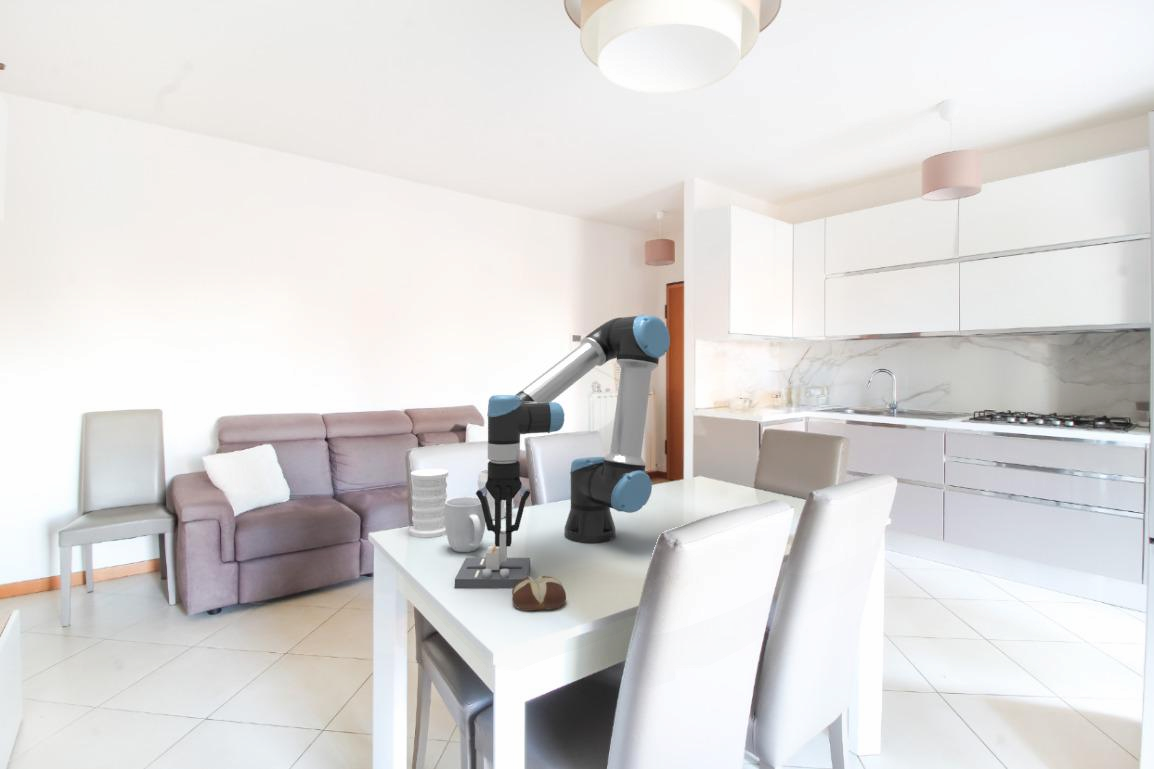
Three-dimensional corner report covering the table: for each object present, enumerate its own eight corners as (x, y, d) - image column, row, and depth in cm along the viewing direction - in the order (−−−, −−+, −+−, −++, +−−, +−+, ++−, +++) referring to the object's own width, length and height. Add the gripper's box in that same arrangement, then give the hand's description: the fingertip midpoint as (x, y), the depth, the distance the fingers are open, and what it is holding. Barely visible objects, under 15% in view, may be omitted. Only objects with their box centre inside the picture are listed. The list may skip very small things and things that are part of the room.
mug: (498, 554, 146) (498, 505, 145) (458, 562, 140) (458, 511, 139) (476, 539, 158) (476, 494, 158) (438, 546, 152) (438, 499, 152)
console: (530, 565, 138) (530, 551, 138) (526, 588, 124) (526, 572, 124) (466, 565, 138) (466, 551, 138) (454, 587, 124) (454, 572, 124)
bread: (566, 612, 113) (567, 588, 112) (510, 613, 112) (510, 589, 111) (564, 590, 124) (564, 568, 123) (512, 591, 123) (512, 569, 123)
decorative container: (418, 540, 157) (418, 477, 157) (403, 530, 166) (403, 471, 166) (456, 532, 164) (456, 472, 164) (439, 524, 174) (439, 467, 173)
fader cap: (501, 562, 133) (501, 545, 133) (498, 570, 128) (498, 552, 128) (488, 562, 133) (489, 545, 133) (485, 570, 128) (485, 552, 128)
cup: (473, 520, 178) (473, 473, 178) (483, 511, 189) (484, 468, 188) (504, 521, 177) (504, 475, 176) (513, 513, 187) (514, 469, 187)
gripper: (532, 458, 134) (531, 554, 135) (478, 457, 134) (478, 554, 134) (530, 463, 126) (529, 565, 127) (473, 463, 126) (472, 565, 127)
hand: (503, 559), depth 131 cm, fingers closed
